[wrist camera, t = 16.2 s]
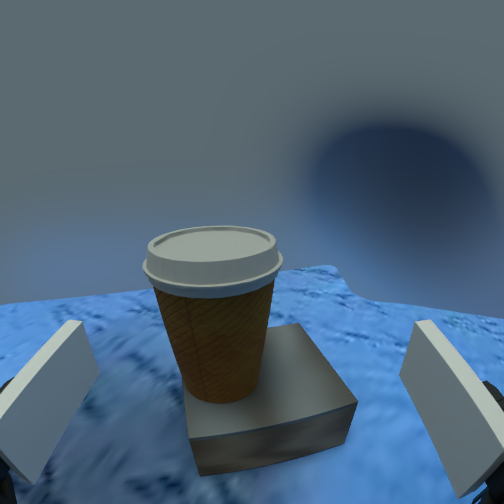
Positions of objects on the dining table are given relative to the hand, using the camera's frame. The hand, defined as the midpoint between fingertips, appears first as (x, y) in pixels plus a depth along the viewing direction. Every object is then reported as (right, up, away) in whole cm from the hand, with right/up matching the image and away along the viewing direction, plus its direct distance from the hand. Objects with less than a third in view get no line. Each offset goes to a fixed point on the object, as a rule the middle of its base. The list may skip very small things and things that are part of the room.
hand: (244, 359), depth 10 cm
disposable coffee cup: (-2, -7, +13) cm, 15 cm away
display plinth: (+1, -12, +16) cm, 20 cm away
